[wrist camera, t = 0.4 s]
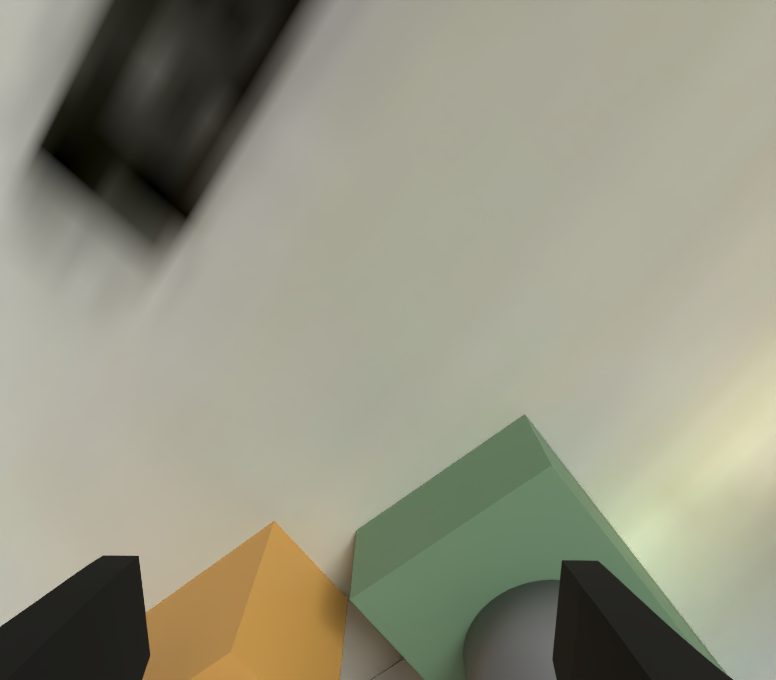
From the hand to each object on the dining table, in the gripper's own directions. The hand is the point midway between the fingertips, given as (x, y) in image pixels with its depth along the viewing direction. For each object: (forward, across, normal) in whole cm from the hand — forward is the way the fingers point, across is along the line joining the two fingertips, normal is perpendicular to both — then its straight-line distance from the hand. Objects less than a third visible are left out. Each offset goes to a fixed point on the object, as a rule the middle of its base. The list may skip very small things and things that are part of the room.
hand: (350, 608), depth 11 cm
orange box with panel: (+10, +5, +9) cm, 14 cm away
